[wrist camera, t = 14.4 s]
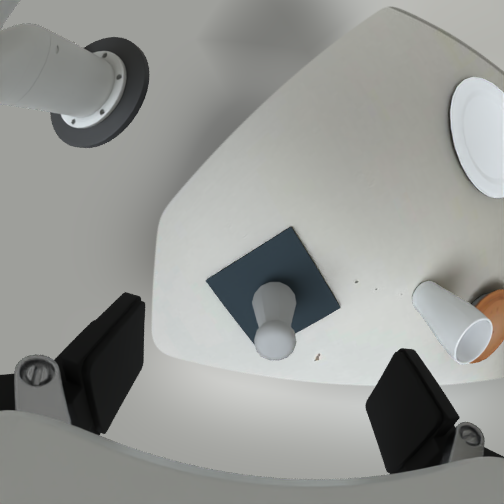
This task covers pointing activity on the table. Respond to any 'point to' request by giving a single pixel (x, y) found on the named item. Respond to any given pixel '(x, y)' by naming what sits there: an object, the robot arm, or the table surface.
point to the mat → (274, 270)
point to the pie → (492, 319)
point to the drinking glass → (453, 321)
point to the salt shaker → (274, 320)
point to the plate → (479, 133)
